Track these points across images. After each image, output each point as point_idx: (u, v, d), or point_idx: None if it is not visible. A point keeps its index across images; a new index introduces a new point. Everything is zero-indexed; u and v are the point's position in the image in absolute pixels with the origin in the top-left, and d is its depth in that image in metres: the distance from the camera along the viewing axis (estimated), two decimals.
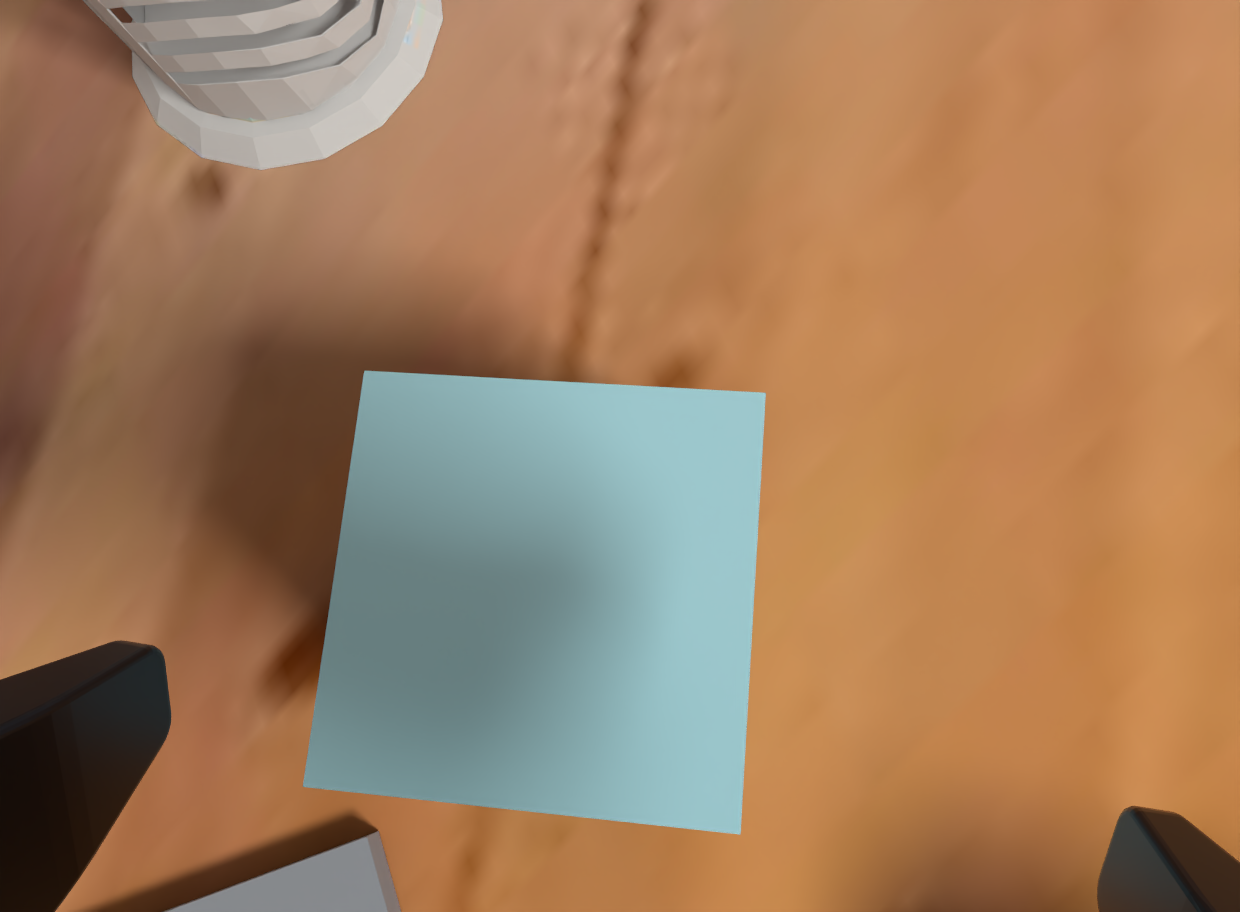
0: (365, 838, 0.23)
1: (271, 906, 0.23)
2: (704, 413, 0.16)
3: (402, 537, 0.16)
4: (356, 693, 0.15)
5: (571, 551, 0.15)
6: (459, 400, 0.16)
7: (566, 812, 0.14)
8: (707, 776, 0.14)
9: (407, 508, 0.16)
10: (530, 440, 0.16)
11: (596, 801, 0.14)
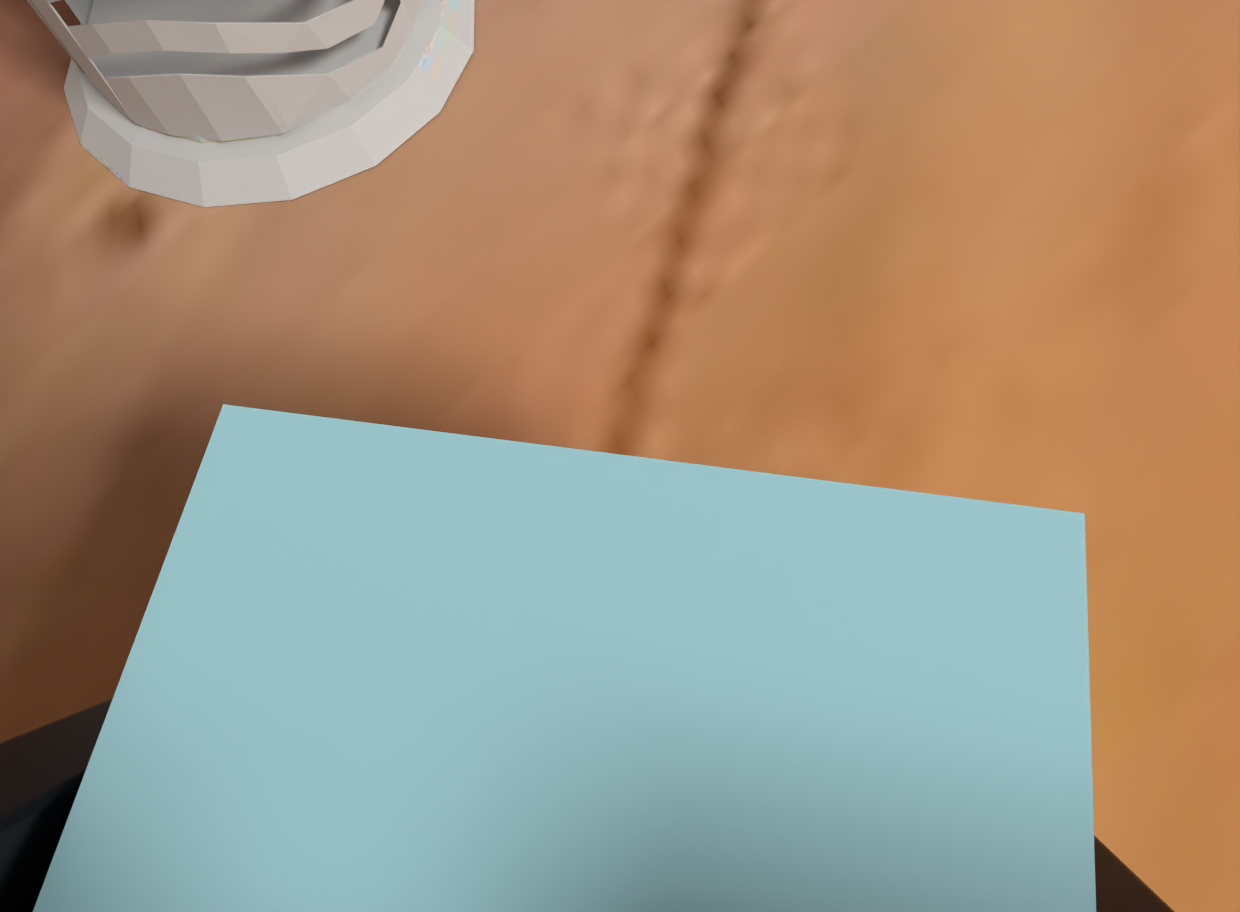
0: None
1: None
2: (946, 547, 0.07)
3: (232, 776, 0.07)
4: None
5: (629, 851, 0.06)
6: (410, 478, 0.07)
7: None
8: None
9: (257, 706, 0.07)
10: (555, 574, 0.07)
11: None
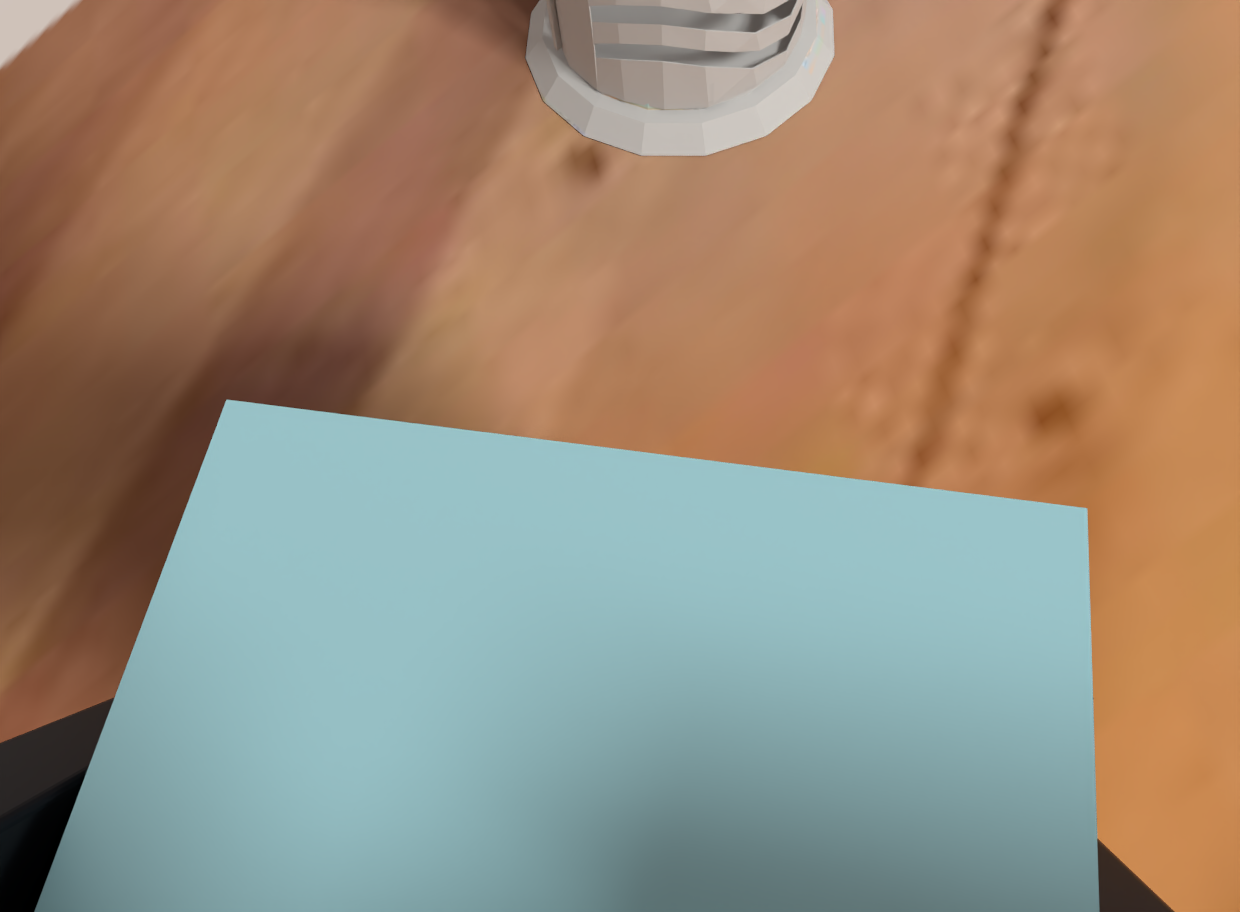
0: None
1: None
2: (949, 542, 0.07)
3: (236, 770, 0.07)
4: None
5: (630, 844, 0.06)
6: (413, 473, 0.07)
7: None
8: None
9: (260, 701, 0.07)
10: (559, 570, 0.07)
11: None
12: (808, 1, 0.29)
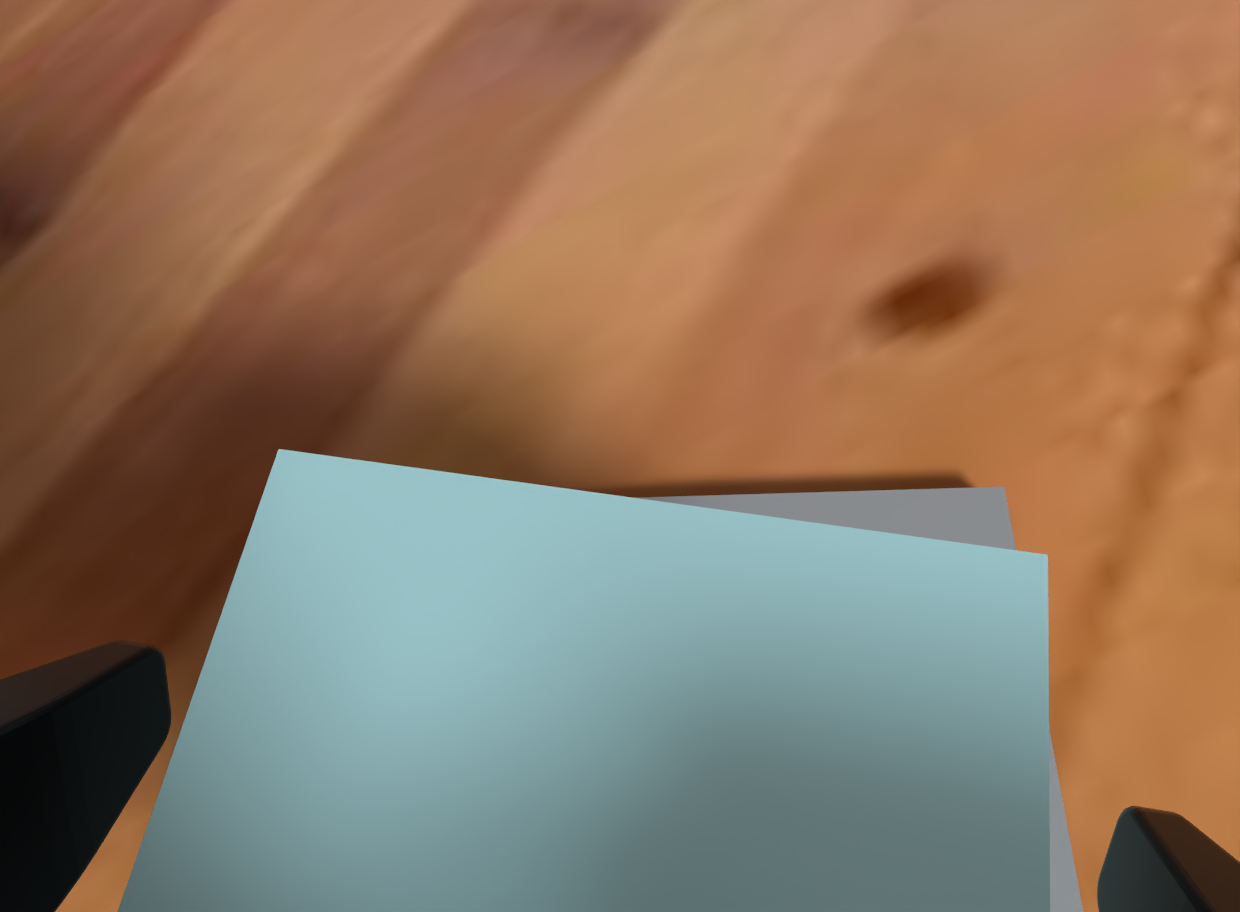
0: (1001, 488, 0.18)
1: (863, 528, 0.18)
2: (924, 584, 0.08)
3: (293, 784, 0.08)
4: None
5: (642, 852, 0.07)
6: (447, 518, 0.08)
7: None
8: None
9: (314, 723, 0.08)
10: (578, 606, 0.08)
11: None
12: None
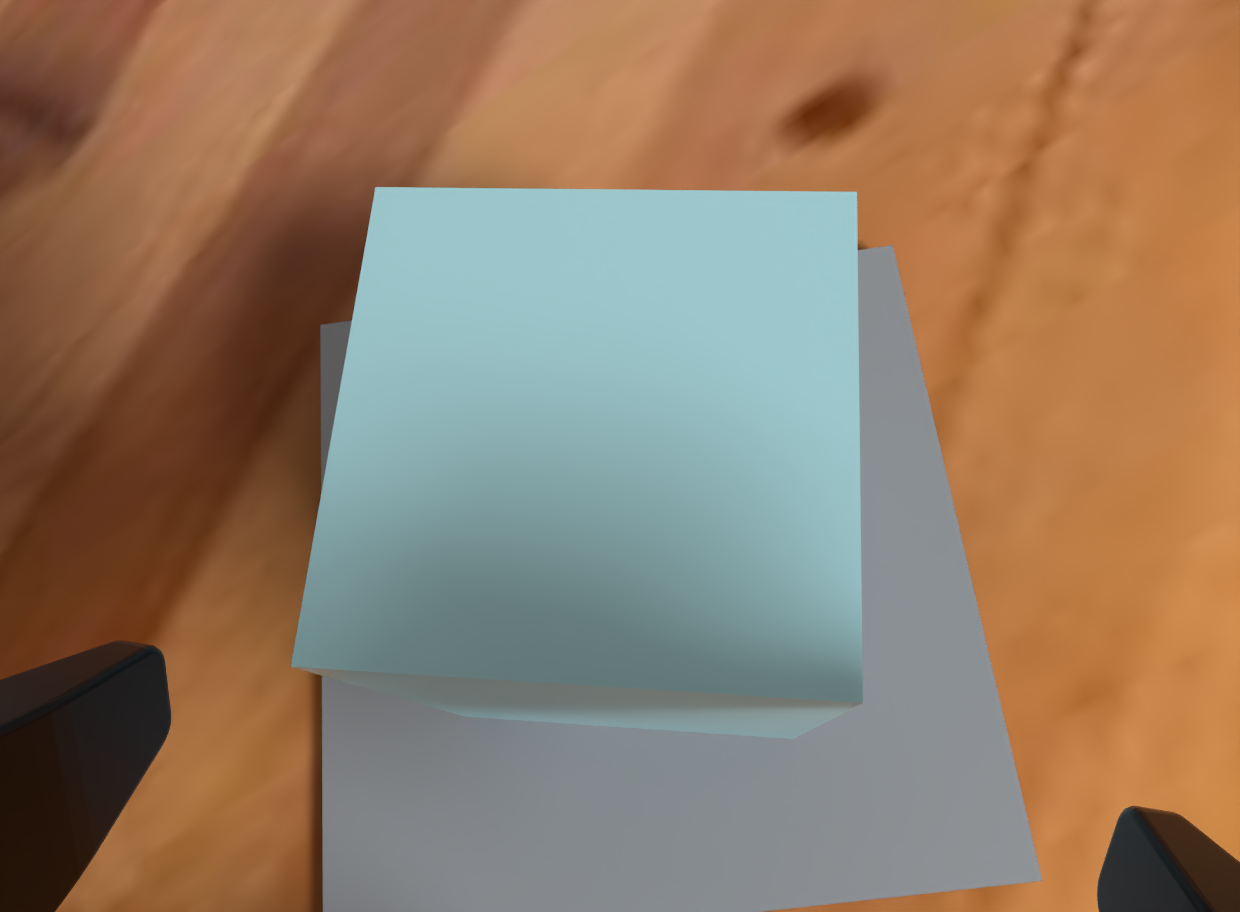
0: (890, 246, 0.23)
1: None
2: (784, 217, 0.13)
3: (420, 366, 0.13)
4: (361, 550, 0.12)
5: (629, 374, 0.12)
6: (489, 214, 0.13)
7: (634, 683, 0.11)
8: (815, 632, 0.11)
9: (427, 334, 0.13)
10: (577, 253, 0.13)
11: (673, 669, 0.11)
12: None
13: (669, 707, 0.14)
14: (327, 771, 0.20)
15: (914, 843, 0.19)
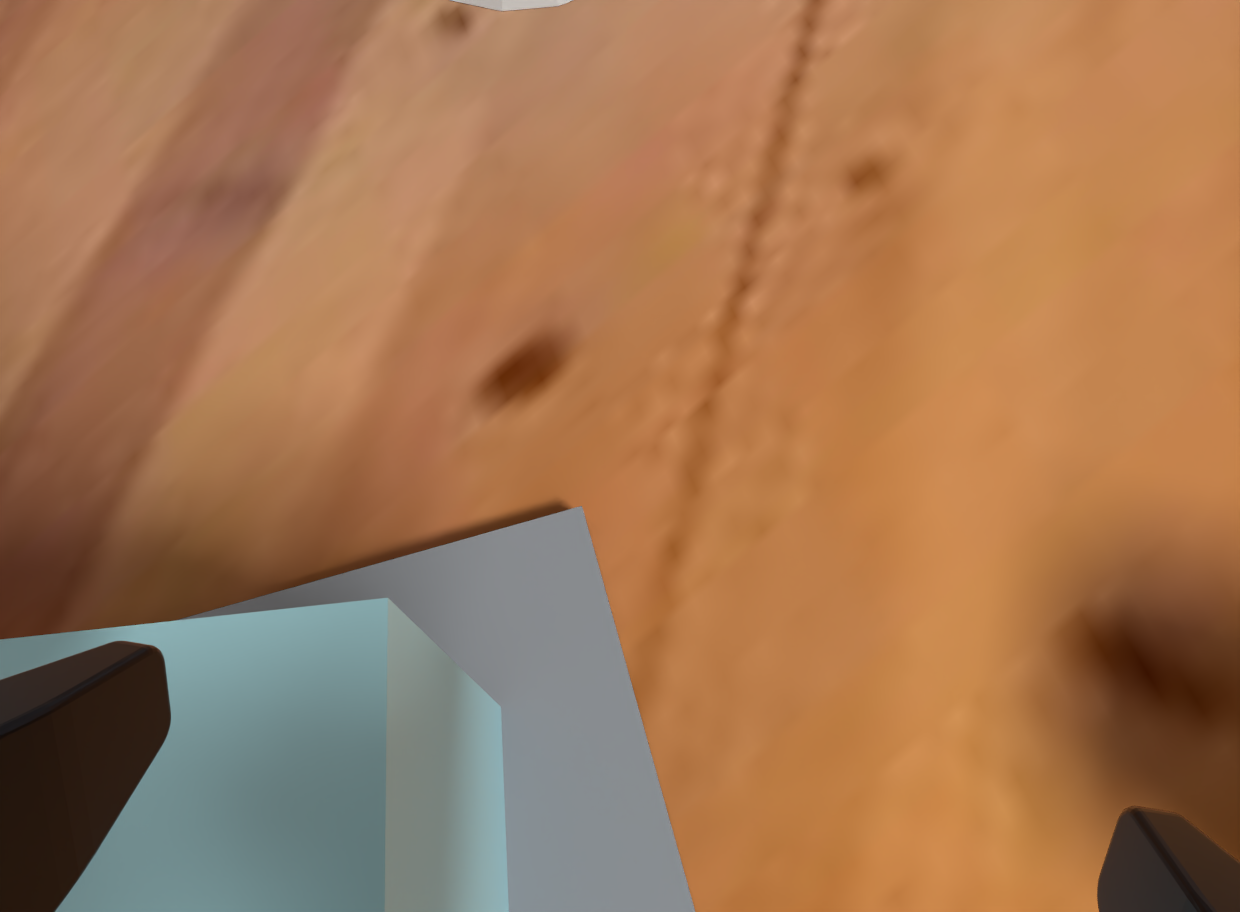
0: (580, 507, 0.24)
1: (484, 562, 0.23)
2: (319, 633, 0.13)
3: None
4: None
5: (163, 829, 0.12)
6: (34, 664, 0.14)
7: None
8: None
9: None
10: None
11: None
12: None
13: None
14: None
15: None
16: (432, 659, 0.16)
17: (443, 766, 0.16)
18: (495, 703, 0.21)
